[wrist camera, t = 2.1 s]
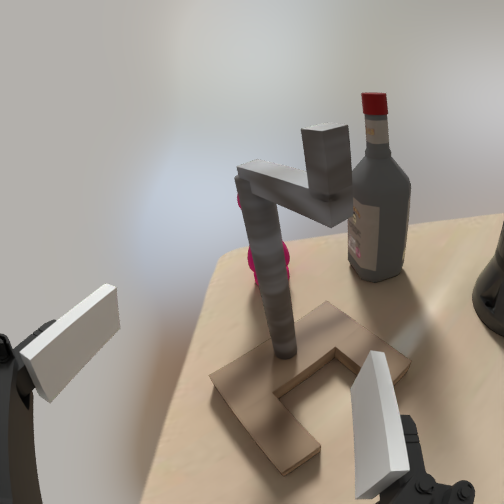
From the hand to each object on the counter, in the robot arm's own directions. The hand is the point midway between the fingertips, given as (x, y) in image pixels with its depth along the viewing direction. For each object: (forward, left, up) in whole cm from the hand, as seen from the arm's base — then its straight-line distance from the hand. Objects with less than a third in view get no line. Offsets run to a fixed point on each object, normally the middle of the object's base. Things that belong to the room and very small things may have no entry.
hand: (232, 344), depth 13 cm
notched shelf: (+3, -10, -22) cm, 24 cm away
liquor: (+6, -36, -22) cm, 43 cm away
